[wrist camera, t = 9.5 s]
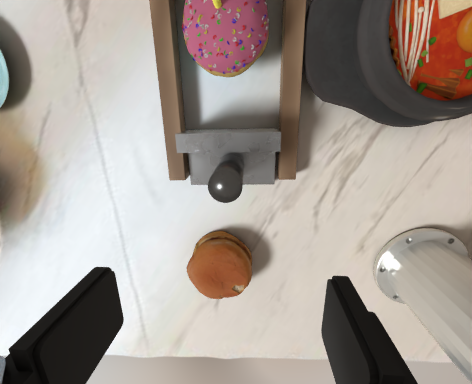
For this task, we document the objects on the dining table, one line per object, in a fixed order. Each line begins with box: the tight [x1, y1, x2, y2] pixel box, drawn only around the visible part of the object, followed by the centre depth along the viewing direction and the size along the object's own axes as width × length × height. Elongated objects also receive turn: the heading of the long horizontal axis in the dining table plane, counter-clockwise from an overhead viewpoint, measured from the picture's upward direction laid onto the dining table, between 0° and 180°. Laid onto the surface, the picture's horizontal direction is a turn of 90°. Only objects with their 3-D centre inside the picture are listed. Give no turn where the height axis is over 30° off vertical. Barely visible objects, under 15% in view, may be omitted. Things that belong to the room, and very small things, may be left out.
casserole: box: [303, 0, 472, 127], centre depth 23 cm, size 25×19×8 cm
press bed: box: [149, 0, 306, 180], centre depth 26 cm, size 16×24×6 cm, turn 1°
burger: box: [187, 231, 252, 299], centre depth 35 cm, size 10×9×5 cm
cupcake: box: [182, 0, 269, 77], centre depth 22 cm, size 9×8×12 cm
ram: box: [175, 128, 281, 203], centre depth 27 cm, size 11×7×10 cm, turn 91°
